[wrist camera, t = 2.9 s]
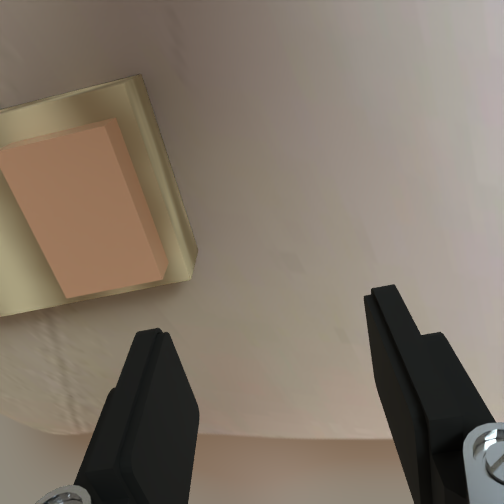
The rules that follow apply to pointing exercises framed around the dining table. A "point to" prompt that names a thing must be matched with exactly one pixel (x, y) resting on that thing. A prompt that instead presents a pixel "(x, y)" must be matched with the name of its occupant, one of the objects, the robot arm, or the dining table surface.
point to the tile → (86, 208)
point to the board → (146, 167)
